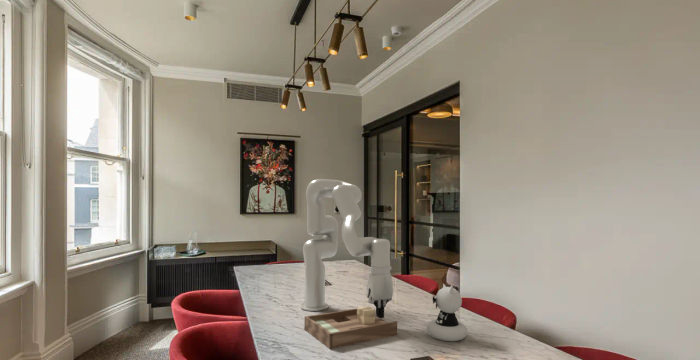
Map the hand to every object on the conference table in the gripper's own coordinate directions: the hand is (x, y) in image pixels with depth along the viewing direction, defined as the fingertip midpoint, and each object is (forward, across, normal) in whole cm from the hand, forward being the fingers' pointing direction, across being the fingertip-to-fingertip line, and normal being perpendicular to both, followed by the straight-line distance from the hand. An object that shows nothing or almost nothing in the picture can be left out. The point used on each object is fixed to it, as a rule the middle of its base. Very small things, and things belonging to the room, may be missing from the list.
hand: (380, 316), depth 153 cm
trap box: (+4, +14, 0) cm, 14 cm away
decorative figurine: (+4, -16, +20) cm, 26 cm away
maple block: (+1, +7, 0) cm, 7 cm away
